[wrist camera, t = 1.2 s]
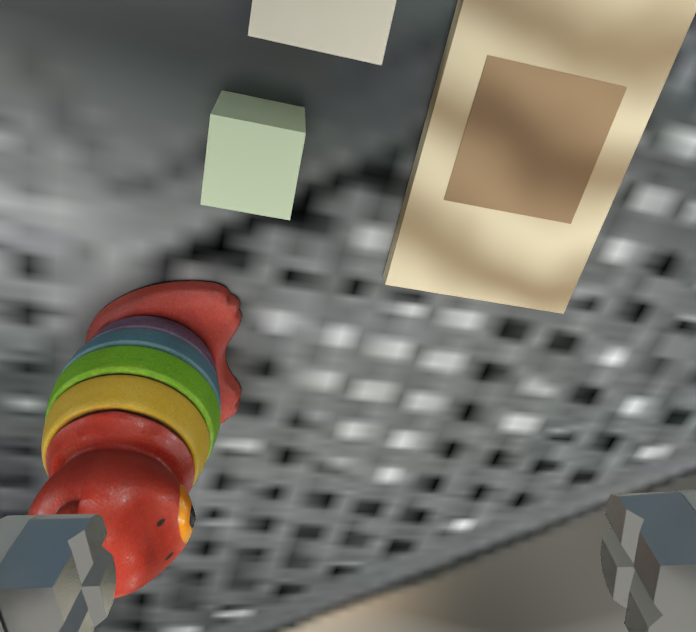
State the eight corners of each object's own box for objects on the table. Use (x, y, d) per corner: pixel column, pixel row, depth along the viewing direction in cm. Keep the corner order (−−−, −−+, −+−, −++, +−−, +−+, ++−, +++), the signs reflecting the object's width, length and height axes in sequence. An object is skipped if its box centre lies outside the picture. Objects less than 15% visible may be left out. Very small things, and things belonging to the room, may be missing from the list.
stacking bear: (241, 416, 46) (214, 656, 30) (94, 413, 45) (-12, 659, 29) (242, 281, 40) (209, 490, 25) (74, 273, 39) (-67, 487, 24)
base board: (481, -87, 31) (488, -88, 30) (699, -28, 33) (713, -27, 32) (382, 276, 41) (385, 285, 40) (556, 304, 43) (564, 314, 42)
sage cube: (221, 90, 35) (210, 113, 30) (304, 107, 35) (305, 133, 31) (212, 170, 37) (200, 204, 32) (290, 185, 38) (289, 220, 33)
